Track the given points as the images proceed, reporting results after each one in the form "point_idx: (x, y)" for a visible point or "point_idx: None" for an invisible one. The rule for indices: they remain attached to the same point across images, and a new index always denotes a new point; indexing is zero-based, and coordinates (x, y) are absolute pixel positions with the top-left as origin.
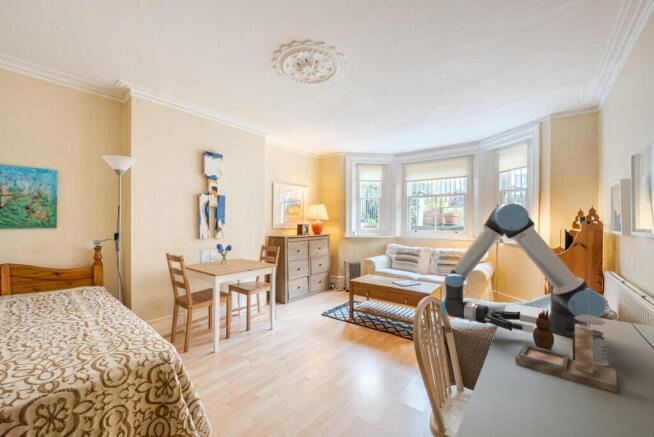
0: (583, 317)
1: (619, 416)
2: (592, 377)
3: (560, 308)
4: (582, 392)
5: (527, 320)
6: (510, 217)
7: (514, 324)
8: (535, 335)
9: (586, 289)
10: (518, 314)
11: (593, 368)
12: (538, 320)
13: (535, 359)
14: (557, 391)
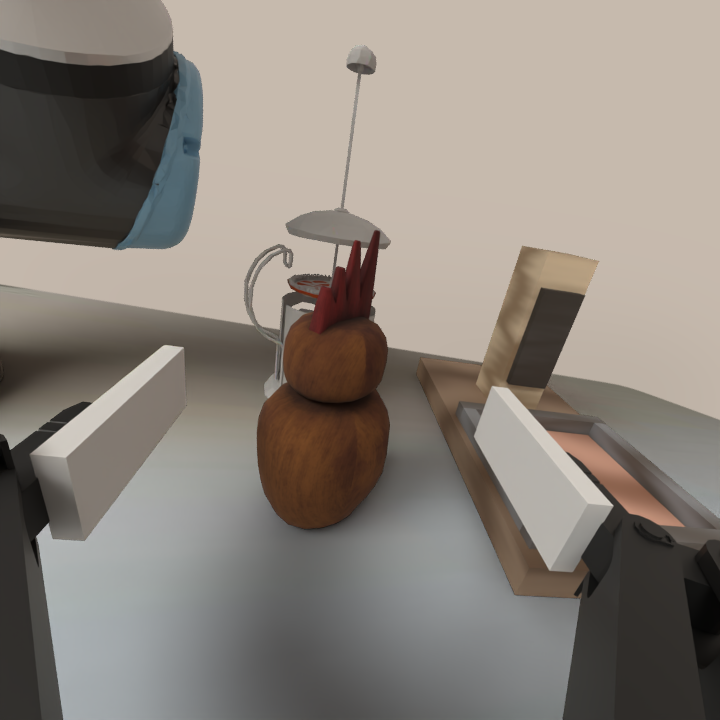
0: (369, 226)
1: (632, 401)
2: (544, 392)
3: None
4: (619, 429)
5: (134, 450)
6: None
7: (616, 502)
8: (359, 467)
9: (371, 57)
10: (17, 485)
11: (470, 382)
12: (375, 345)
13: (677, 486)
14: (707, 468)
